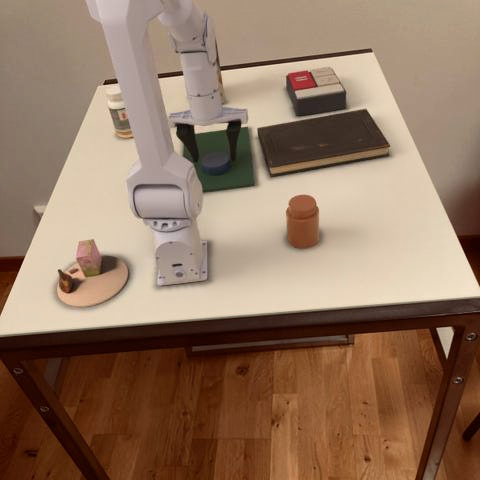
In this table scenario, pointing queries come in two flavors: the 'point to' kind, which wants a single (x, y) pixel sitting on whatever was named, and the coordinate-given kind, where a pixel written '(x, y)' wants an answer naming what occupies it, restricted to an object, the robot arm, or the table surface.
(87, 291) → the dessert plate
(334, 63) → the table surface
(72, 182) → the table surface
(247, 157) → the mat
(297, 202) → the jar
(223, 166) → the lid
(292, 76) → the grey box
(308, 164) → the hardcover book
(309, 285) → the table surface
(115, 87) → the pill bottle
